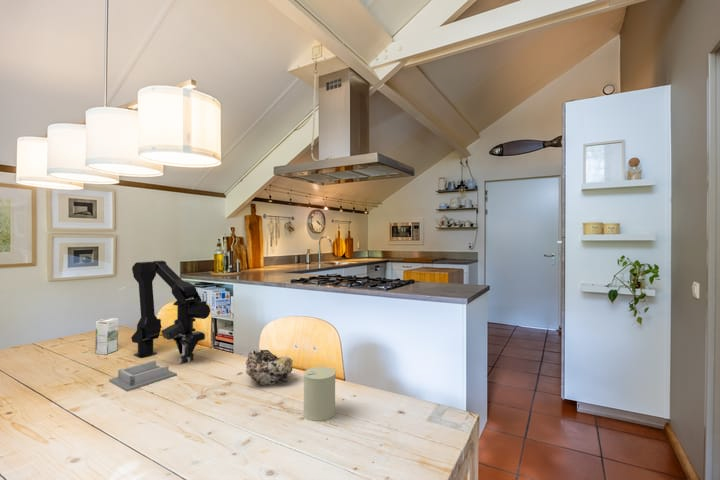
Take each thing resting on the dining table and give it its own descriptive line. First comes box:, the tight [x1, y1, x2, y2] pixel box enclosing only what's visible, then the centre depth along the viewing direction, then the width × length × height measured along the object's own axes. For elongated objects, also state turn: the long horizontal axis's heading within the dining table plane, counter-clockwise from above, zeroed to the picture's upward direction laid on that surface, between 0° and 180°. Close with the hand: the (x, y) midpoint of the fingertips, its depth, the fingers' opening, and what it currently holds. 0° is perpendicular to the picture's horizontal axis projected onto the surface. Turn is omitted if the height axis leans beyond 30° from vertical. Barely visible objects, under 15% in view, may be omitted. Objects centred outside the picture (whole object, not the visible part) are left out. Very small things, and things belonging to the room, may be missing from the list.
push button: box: [177, 336, 194, 364], centre depth 136 cm, size 7×5×10 cm
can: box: [302, 366, 337, 422], centre depth 97 cm, size 9×9×12 cm
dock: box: [108, 359, 178, 392], centre depth 120 cm, size 14×16×4 cm
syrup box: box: [94, 317, 120, 355], centre depth 147 cm, size 6×6×14 cm
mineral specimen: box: [245, 348, 294, 386], centre depth 118 cm, size 16×18×10 cm
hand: (185, 355), depth 136 cm, fingers closed on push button, 5 cm apart
